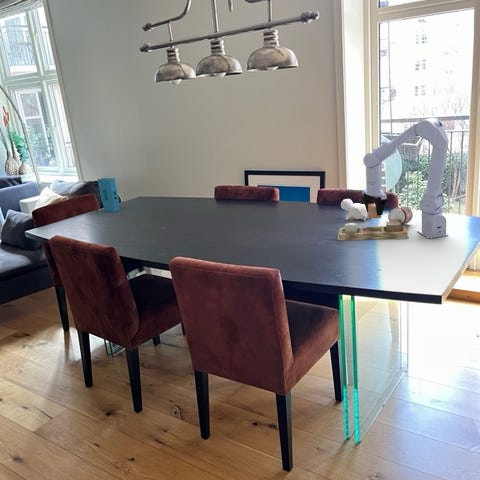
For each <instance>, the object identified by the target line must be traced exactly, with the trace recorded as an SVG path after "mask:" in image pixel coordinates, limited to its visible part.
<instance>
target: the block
mask: <svg viewBox="0 0 480 480" xmlns="http://www.w3.org/2000/svg"><path fill="white" fill-rule="evenodd" d="M97 184H98V189H99V193H100V194H99V196H100V200H101V204H102V206H103V209H104V211H105V212H108V213H115V212H118V211H120V204H119V203H120V201H119V196H118V194H119V193H118V190H117V185H116V184H117V183H116V179H115V178H114V177H111V178H109V177H103V178H98V179H97Z"/></svg>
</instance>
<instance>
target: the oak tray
mask: <svg viewBox="0 0 480 480" xmlns="http://www.w3.org/2000/svg"><path fill="white" fill-rule="evenodd" d="M392 239H393V240H395V239H397V240H399V239H409V233H408V230H407V228H406V226H405V225H400V232H387V229H386V225H385V226H384V225H382V226H381V225H380V226H377V225H376V226H357V233H345V227H339V230H338V233H337V241H356V240H357V241H359V240H361V241H362V240H392Z"/></svg>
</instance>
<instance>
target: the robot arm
mask: <svg viewBox="0 0 480 480" xmlns="http://www.w3.org/2000/svg"><path fill="white" fill-rule="evenodd" d="M444 125H445V124H444V123H443V122H442V121H441V119H439V118H437V117H435V116H434V117H429V118H426V119H422V120H420V121H418V122H417V123H415V124H413V125H411V126H410V127H408V128H407V129H405V130H404V131H403V132H401V133H400V134H399V135H398V136H397V137H395V138H394V139H392V140H386V141H385V140H384V141H382V142H381V144H380V145H379V146H377V147H376V148H372V152H369V153H368V152H367V153H366V154H365V156H363V160H362V161H363V165H364V166H365V173H366V174H365V176H366V178H365V179H366V180H365V181H366V188H365V189H362V190H361V194H362V195H361V196H360V198H361V200H362V201H363V204H365V207H366V210H367V212H368V204H375V205H376V211H377V215H378V216H379V215H381V216H383V213H384V211H385V210H384V209H385V208H386V207H385V205H386V204H387V202H388V201H389V200H388V197H387V193H385V192H384V190H382V181H381V180H382V178H381V177H382V173H381V170H382V169H381V164H382V163H383V162H384V161H385V160H387V159H388V158H390V157H391V156H392V155H394V154H395V153H396V152H397V150H398V149H397V148H398V147H400V146H402V144H404V143H406V142H407V141H410V139H412V138H417V137H419V138H421V139H423V140H426V141H427V142H428V144H430V145H431V146H432V150H431V156H430V161H429V162H430V163H429V169H428V176H427V182H426V188H425V190H424V192H423V194H422V195H423V196H422V198H421V199H420V201H419V204H418V205H419V209H420V210H421V229H420V230H417V233H419V234H420V235H422V236H424V237H425V238H427V239H434V238H441V237H447V236H449V234H448V233H447V219H446V217H445V215H443V210H442V206H443V205H444V203H445V198H444V190H443V187H442V185H443V180H444V179H443V178H444V172H445V168H446V167H445V166H446V160H447V156H448V147H449V142H450V141H449V138H448V135H447V132H446V130H445V128H444Z"/></svg>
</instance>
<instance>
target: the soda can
mask: <svg viewBox="0 0 480 480" xmlns="http://www.w3.org/2000/svg"><path fill="white" fill-rule="evenodd" d="M413 213H414V212H413V210H412V209H411V208H410V207H408V206H399V207H395V208H392V209H391V210H390V211H389V212H388V216H387V220H388V222H395V221H399V222H400V226H404V225H405V224H408V223H410V222H411V221H412V219H413V216H414V214H413Z"/></svg>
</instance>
